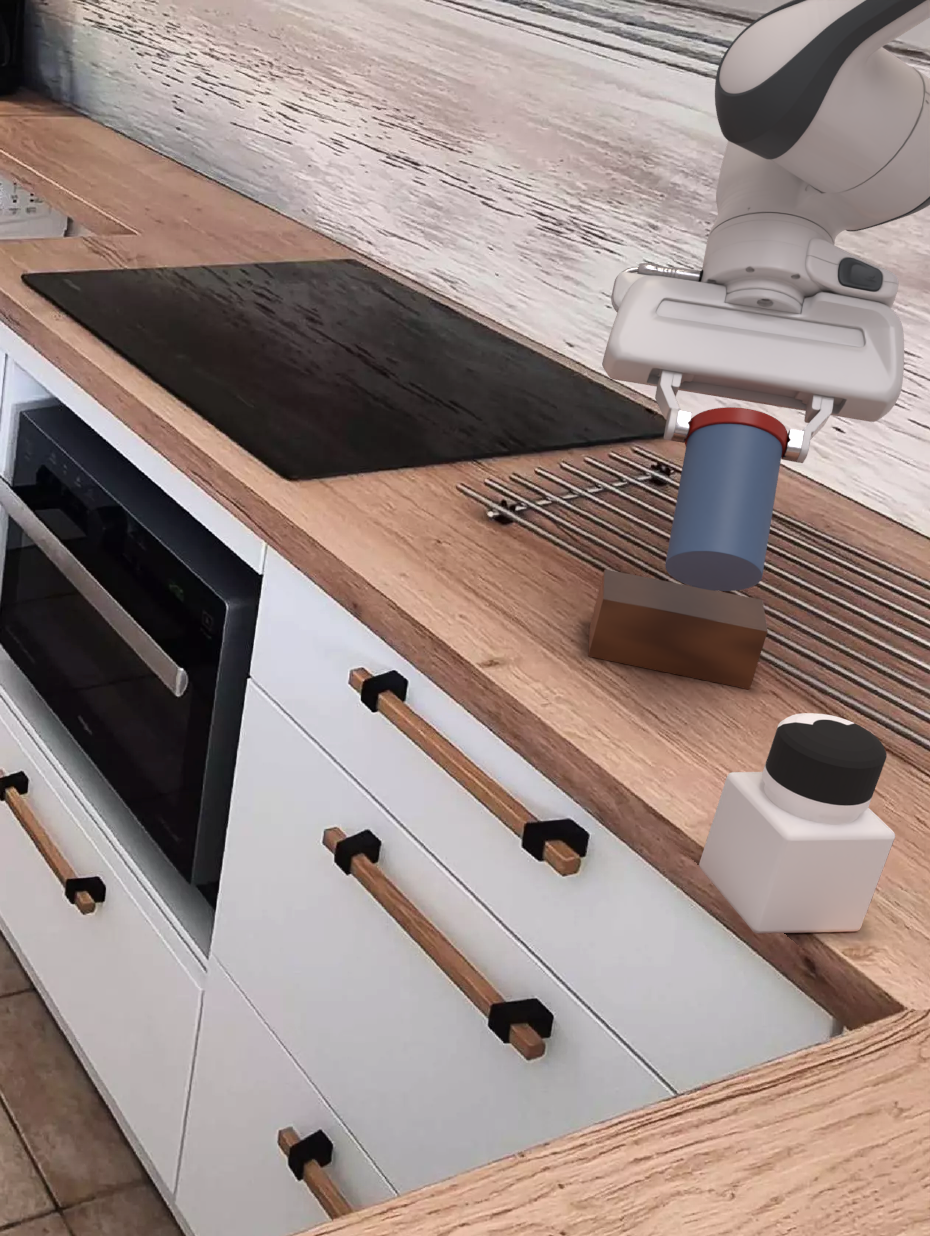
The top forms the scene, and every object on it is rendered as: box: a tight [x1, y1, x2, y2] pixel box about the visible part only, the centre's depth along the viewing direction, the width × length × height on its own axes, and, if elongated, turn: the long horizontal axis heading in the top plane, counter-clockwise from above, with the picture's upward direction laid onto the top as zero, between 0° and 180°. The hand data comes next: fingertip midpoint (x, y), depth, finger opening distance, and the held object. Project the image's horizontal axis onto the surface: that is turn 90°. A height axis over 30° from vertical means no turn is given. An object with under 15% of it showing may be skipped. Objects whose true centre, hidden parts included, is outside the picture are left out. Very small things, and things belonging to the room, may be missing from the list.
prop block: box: [587, 569, 769, 690], centre depth 134 cm, size 12×6×5 cm, turn 73°
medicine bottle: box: [698, 712, 896, 935], centre depth 103 cm, size 7×7×12 cm
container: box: [664, 406, 788, 592], centre depth 123 cm, size 7×12×12 cm, turn 164°
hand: (735, 448), depth 124 cm, fingers closed on container, 7 cm apart
